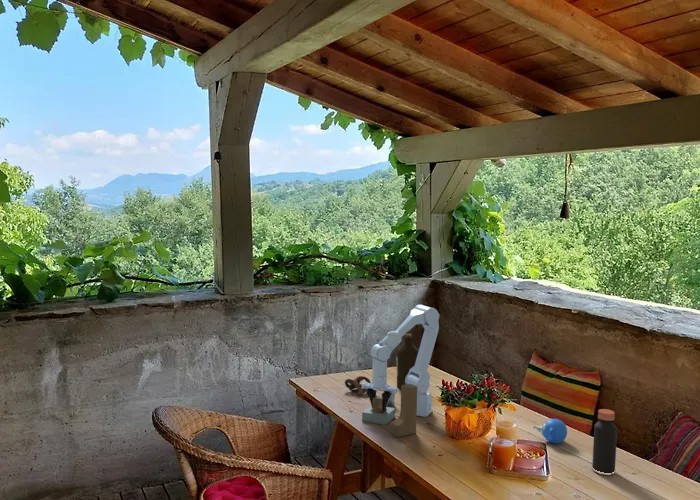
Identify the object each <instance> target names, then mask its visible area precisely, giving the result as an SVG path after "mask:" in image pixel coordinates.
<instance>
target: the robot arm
mask: <svg viewBox="0 0 700 500" xmlns="http://www.w3.org/2000/svg"><path fill="white" fill-rule="evenodd" d="M440 316H441V315H440V313H439V312H438V310H437V309H436V307H435V308H434V307H430V306H427V305H424V304H421V303H420V304H417V305H415V307H414V308H413V309H411V311H410V312H409V314H408V316H407V317H406V319H404V320H403V322H402V323H400V325H399V326H398V327H397V329H396V330H390V331H388V332H387V333H386V336H385V337H383V338H382V339H381V340H380V341H379V342H378V343H377V344H374V345H372V347H371V349H370V351H369V354H370V357H372V369H371V370H372V373H371V374H372V375H371V377H372V380H371V383H368V382H362V383H361V385H362V389H368V391H367V392H366V396H367V397H368V399H369V401H370V406H373V397H375V396H376V395H377V392H382V393H381V396H382V400H383V406H382V408H383V410H385V409H386V407H387V403H388V400H389V397H390V395H391V394H392V393H393V394H395V395H396V394H397V393H398V387H395V386H392V385H388V384H387V380H388V378H387V377H388V376H387V375H388V373H387V372H388V359H390V358H391V353H393V352H392V351H393V350H394V349H395V348H396V347H397V346H399V344H401V342H402V338H403V336H405V334H408V332H409V331H411V329H413V327H415V326H416V325H422V327H423V329H424V331H423V335H422V338H421V342H420V345H419V348H418V355H417V359H416V362H415V366H414V367H412V368H411V369H410V371H409V373H408V375H407V376H406V378H405V383H406V384H412V385H415V386H417V416H418V417H423V418H427V417H428V416H429V415H430V414H431V413H432V412H433V409H432V407H433V403H432V401H433V396H432V393H431V392H428V390H429V388H430V378H431V375H430V373H429V366H430V362H431V358H432V355H433V352H434V348H435V344H436V341H437V337H438V333H439V330H440V325H439V323H440V322H439V319H440Z"/></svg>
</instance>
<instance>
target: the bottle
mask: <svg viewBox="0 0 700 500" xmlns="http://www.w3.org/2000/svg"><path fill="white" fill-rule="evenodd" d="M615 416H616V412H615V411H613V410H611V409H609V408H608V409H607V408H602V409H601V408H600V409H598V413H597V419H598V421H597V422H596V423H595V424H594V427H593V428H594V430H593V445H592V446H593V447H592V462H591V463H592V465H591V468H592V467H593V468H594V469H595V470H597V471H600V472H604V473H612V472H614V471H615V472H616V457H617V443H618V442H617V441H618V440H617V439H618V427H617V426H616V425H615V424H614V422H615V418H616V417H615Z"/></svg>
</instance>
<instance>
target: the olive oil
mask: <svg viewBox="0 0 700 500" xmlns="http://www.w3.org/2000/svg"><path fill="white" fill-rule="evenodd" d="M412 339H413V337H412V334H411V333H405V334H404V342H403V343H402V344H401V345H400V346H399V347H398V348H397V350H396V354H395V355H396V356H395V361H396V388H397V389H399V390H401V385H405V384H406V383H405V378H406V376H407V375H408V373H409V371H410V369H411V368H412V367H414V366H415V362H416V359H417V355H418V352H419V348H417V347H416V346H415V345H414V344H413V342H412V341H413V340H412Z"/></svg>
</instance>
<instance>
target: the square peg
mask: <svg viewBox="0 0 700 500" xmlns="http://www.w3.org/2000/svg"><path fill="white" fill-rule="evenodd" d="M382 406H383V400H382V395H377V394H376V396H375V397H373V406H372V412H377V413H384V412H385V410H386V409H385V410H383V408H382Z"/></svg>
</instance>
